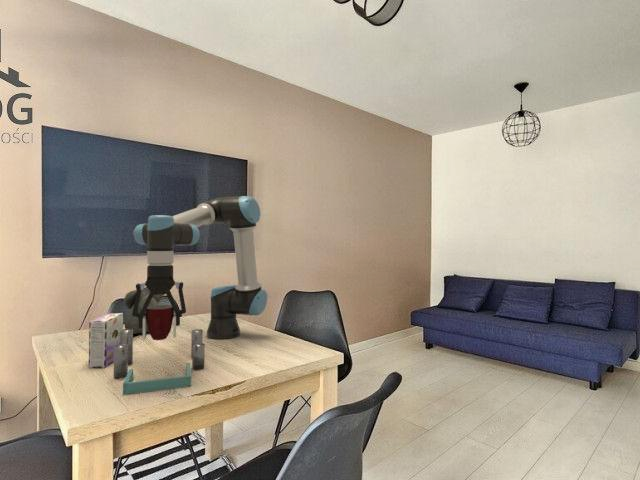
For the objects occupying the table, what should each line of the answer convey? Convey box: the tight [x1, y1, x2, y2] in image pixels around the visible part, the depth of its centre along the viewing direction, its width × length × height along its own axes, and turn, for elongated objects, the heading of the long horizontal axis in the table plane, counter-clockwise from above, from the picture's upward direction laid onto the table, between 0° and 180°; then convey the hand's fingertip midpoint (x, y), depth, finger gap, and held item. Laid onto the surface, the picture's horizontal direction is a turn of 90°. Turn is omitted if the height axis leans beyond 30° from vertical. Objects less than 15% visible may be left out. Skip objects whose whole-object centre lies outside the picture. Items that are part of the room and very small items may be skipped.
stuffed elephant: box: [123, 286, 165, 335], centre depth 177 cm, size 19×21×27 cm
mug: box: [146, 304, 175, 341], centre depth 113 cm, size 11×8×10 cm
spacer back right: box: [120, 328, 134, 366], centre depth 130 cm, size 4×4×12 cm
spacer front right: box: [113, 344, 129, 380], centre depth 118 cm, size 4×4×10 cm
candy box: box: [88, 312, 124, 369], centre depth 132 cm, size 14×6×16 cm, turn 5°
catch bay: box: [122, 362, 192, 396], centre depth 113 cm, size 18×13×3 cm
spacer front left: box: [191, 342, 206, 371], centre depth 126 cm, size 4×4×8 cm
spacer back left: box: [190, 328, 204, 358], centre depth 139 cm, size 4×4×10 cm
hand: (159, 337), depth 113 cm, fingers closed on mug, 8 cm apart
